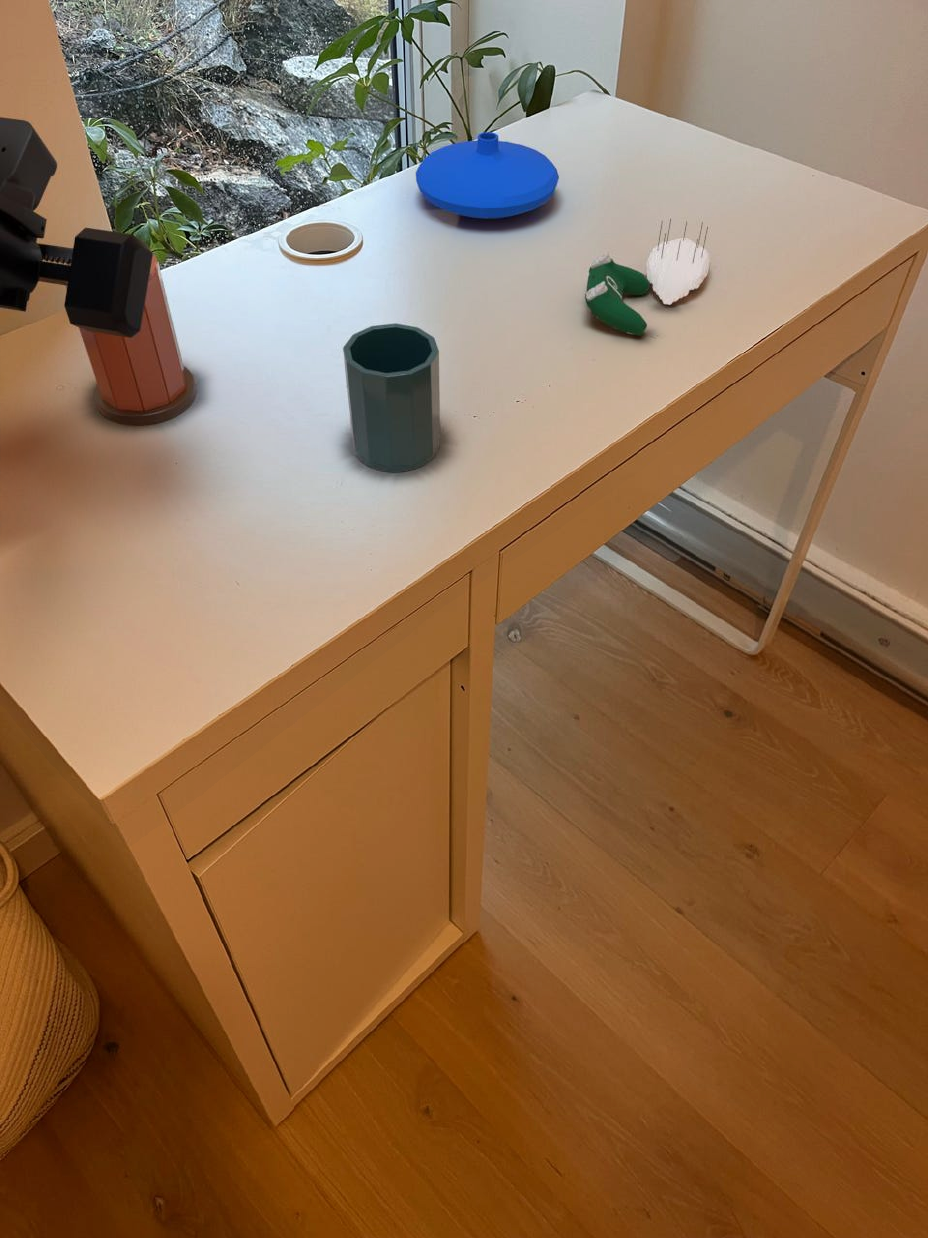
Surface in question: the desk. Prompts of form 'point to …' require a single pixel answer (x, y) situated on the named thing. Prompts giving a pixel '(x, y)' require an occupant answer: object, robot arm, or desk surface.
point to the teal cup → (393, 396)
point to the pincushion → (677, 267)
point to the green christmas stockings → (615, 294)
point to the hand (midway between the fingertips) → (82, 303)
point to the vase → (487, 178)
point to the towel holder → (153, 414)
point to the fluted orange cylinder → (140, 356)
